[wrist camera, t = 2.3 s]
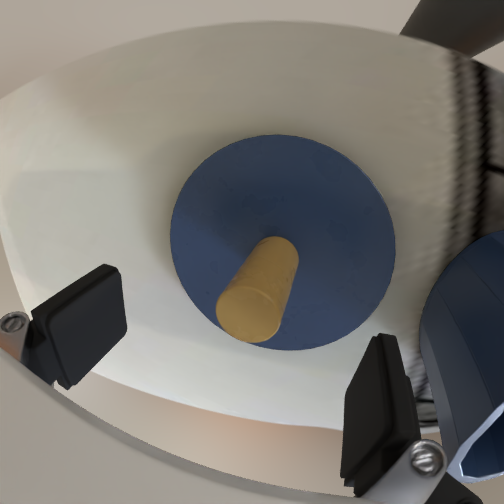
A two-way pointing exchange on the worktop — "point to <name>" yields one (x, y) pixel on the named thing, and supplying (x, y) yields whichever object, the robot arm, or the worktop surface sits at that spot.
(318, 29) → the worktop surface
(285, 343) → the lid
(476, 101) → the worktop surface
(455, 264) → the tin
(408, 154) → the worktop surface
